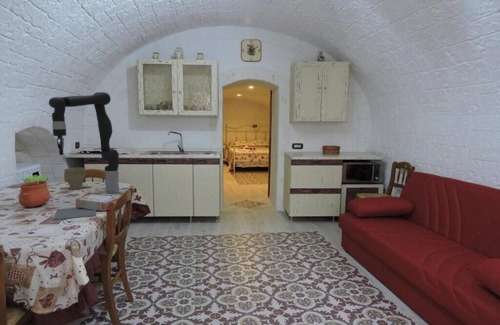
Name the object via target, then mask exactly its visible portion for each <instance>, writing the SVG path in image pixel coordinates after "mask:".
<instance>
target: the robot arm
mask: <svg viewBox="0 0 500 325" xmlns="http://www.w3.org/2000/svg"><path fill="white" fill-rule="evenodd" d="M111 99H112V98H111V96H110V94H109V93H108V92H103V91H99V92H98V91H97V92H94V93H93V94H89V95H68V96H59V97H58V96H55V97H51V98H50V99H49V100H48V105H49V106H50V108H52V109H54V110H53V112H52V114H51V119H52V135H53V136H54V137H57V138H56V144H57V148H58V152H59V155H60V156H64V146H65V138H64V137H66V136H67V125H66V118H65V113H66V108H72V107H73V108H74V107H81V106H89V105H93V107H94V109H95V115H96V120H97V127H98V128H97V129H98V132H99V134H98V135H99V140H100V154H101V159H102V160H103V161H105V162H108V165H106V166H104V182H105V194H111V195H112V194H118V193H119V192H120V186H119V182H120V181H119V171H118V170H119V166H120V164H119V163H120V160H119V159H120V156H119V152H118V150H116V149H113V148H112V149H111V146H110V140H111V139H112V138H111V137H112V135H113V124H112V121H111V120H110V117H109V116H108V114H107V111H106V107H105V106H106V105H108V104H110V103H111Z"/></svg>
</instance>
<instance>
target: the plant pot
mask: <svg viewBox="0 0 500 325" xmlns="http://www.w3.org/2000/svg"><path fill="white" fill-rule="evenodd" d="M63 171H64V175H65V178H66V181H67V183H68V186H69V188H70V189H71V190H81V189H82V187H83V185H84V181H85V175H86V168H85V167H70V168H69V167H68V168H64V170H63Z"/></svg>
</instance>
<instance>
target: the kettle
mask: <svg viewBox="0 0 500 325" xmlns="http://www.w3.org/2000/svg"><path fill="white" fill-rule="evenodd" d="M49 179H50V178H49V177H46V176H43V175H37V174H33V176H32V175H29V176H27V177H24V178H21V180H23V182H24V184H25V183H27V182H33V181H46V182H47V181H48V180H49Z"/></svg>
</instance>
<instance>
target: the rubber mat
mask: <svg viewBox="0 0 500 325" xmlns="http://www.w3.org/2000/svg"><path fill="white" fill-rule="evenodd" d="M96 216H97V210H92V209H85V208H78V207H76V206H75V207H66V208H58V209H56V211H55V212H54V216H53V218H52V221H61V220H71V219H80V218H81V219H82V218H88V217H96Z"/></svg>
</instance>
